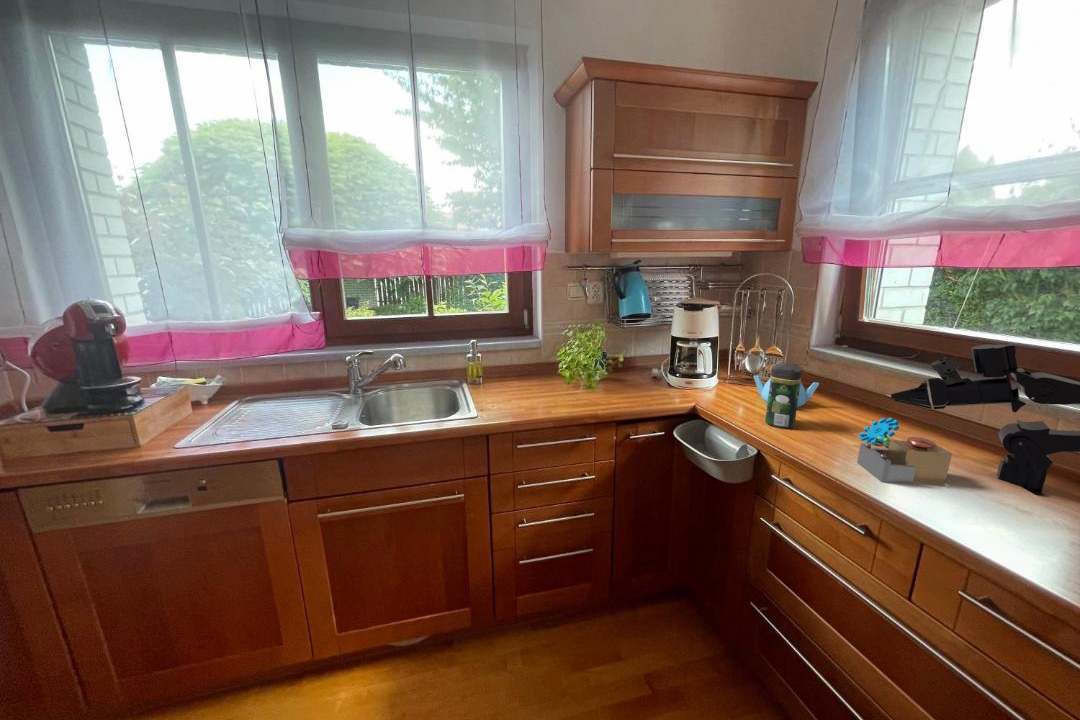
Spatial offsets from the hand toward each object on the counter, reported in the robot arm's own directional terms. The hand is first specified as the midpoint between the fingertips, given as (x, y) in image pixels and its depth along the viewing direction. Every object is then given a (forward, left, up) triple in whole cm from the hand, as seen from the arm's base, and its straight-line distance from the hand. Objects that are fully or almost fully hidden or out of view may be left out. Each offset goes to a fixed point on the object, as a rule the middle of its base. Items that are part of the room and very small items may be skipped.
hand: (892, 397), depth 113 cm
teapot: (+28, -31, -16) cm, 45 cm away
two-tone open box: (-4, +13, -15) cm, 20 cm away
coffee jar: (+25, -8, -16) cm, 31 cm away
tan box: (-6, +12, -14) cm, 19 cm away
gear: (+1, -7, -16) cm, 17 cm away
